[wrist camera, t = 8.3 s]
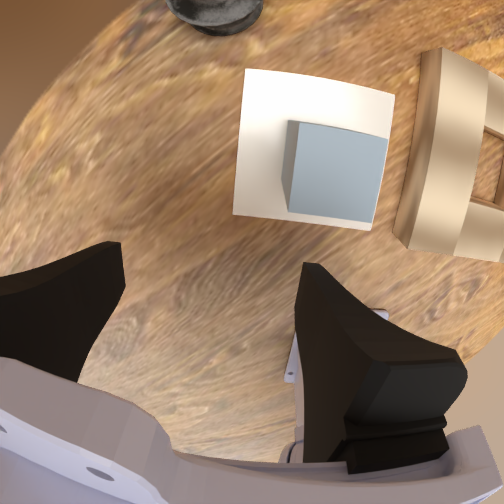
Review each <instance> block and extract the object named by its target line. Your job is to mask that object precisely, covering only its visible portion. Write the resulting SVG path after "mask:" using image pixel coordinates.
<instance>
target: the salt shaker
mask: <svg viewBox="0 0 504 504" xmlns="http://www.w3.org/2000/svg"><path fill="white" fill-rule="evenodd" d="M166 4H167V5H168V7H169V9H170V11H171V12H172V13H173V14H175V15H176V16H177V17H178V18H179V19H181V20H183V21H185V22H187V23H189V24H191V25H192V26H193V27H194V28H195V29H196V30H198V31H200V32H202V33H204V34H208V35H212V36H227V35H232V34H236V33H238V32H241V31H243V30H245V29H247V28H248V27H249V26H251V25H252V24H253V23H254V22H255V21H256V20H257V18H258V17H259V16H260V13H261V11H262V9H263V0H166Z"/></svg>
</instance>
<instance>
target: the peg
mask: <svg viewBox="0 0 504 504" xmlns="http://www.w3.org/2000/svg"><path fill="white" fill-rule="evenodd" d="M387 144H388V139H385V138H382V137H378V136H374V135H370V134H366V133H362V132H357V131H353V130H349V129H344V128H338V127H333V126H327V125H321V124H315V123H309V122H302V121H295V120H288V125H287V133H286V142H285V150H284V159H283V167H282V175H281V181H282V186H283V191H284V196H285V200H286V205H287V210H288V212H291V213H299V214H307V215H315V216H323V217H331V218H338V219H345V220H352V221H360V222H366V223H372V219H373V215H374V211H375V206H376V202H377V197H378V193H379V188H380V183H381V178H382V173H383V167H384V162H385V156H386V150H387Z"/></svg>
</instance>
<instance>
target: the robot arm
mask: <svg viewBox="0 0 504 504" xmlns="http://www.w3.org/2000/svg"><path fill="white" fill-rule="evenodd" d="M125 287H126V285H125V277H124V269H123V260H122V251H121V243H120V242H111V241H106V242H102V243H99V244H96V245H94V246H91V247H88V248H86V249H84V250H81V251H79V252H76V253H74V254H72V255H69V256H67V257H64V258H62V259H59V260H57V261H54V262H52V263H49V264H47V265H44V266H41V267H38V268H35V269H31V270H28V271H25V272H20V273H16V274H12V275H7V276H3V277H0V504H478V503H480V502H481V501H483V500H484V499H486V498H487V497H489V496H490V495H492V494H493V493H495V492H496V491H498V490H499V489H500V488H502V486H503V483H502V479H501V477H500V474H499V471H498V468H497V465H496V463H495V460H494V458H493V455H492V452H491V450H490V448H489V445H488V443H487V440H486V438H485V435H484V433H483V431H482V429H481V426H480V425H477V426H473V427H470V428H466V429H463V430H459V431H455V432H453V433H451V434H449V435H447V436H446V437H445V434H444V431H443V429H442V428H445V426H446V425H447V421H446V419H445V416H444V414H445V412H446V411H447V410H448V409H449V408H450V406H451V405H452V404H453V403H454V401H455V400H456V399H457V398H458V396H459V395H460V393H461V392H462V390H463V388H464V387H465V384H466V381H467V378H468V375H467V370H466V368H465V366H464V364H463V362H462V360H461V359H460V357H459V355H458V353H457V352H456V350H454V349H451V348H448V347H445V346H442V345H439V344H436V343H433V342H430V341H428V340H425V339H423V338H421V337H418V336H416V335H414V334H412V333H410V332H408V331H405V330H403V329H402V328H400V327H398V326H396V325H394V324H393V323H391V322H389V321H387V320H388V318H389V314H388V312H387V311H385V310H371V309H369V308H368V307H367V306H365V305H364V304H363V303H362V302H360V301H359V300H358V299H357V298H356V297H354V296H353V295H352V294H351V293H350V292H349V291H348V290H346V289H345V288H344V287H343V286H342V285H341V284H340V283H339V282H338V281H337V280H336V279H335V278H334V277H333V276H332V275H331V274H330V273H329V272H328V271H327V270H326V269H325V268H324V267H322V266H321V265H320V264H317V263H307V262H303V267H302V272H301V277H300V282H299V287H298V292H297V297H296V302H295V306H294V308H295V334H294V339H293V343H292V347H291V351H290V355H289V359H288V363H287V367H286V371H285V374H284V381H285V382H287V383H294V394H295V410H296V426H297V428H295V442H292V443H289V444H288V445H286V446H285V447H284V449H283V451H282V453H281V455H280V459H279V461H278V463H271V462H253V461H240V460H230V459H221V458H213V457H206V456H199V455H193V454H187V453H181V452H178V451H175V450H173V449H172V446H171V442H170V438H169V436H168V434H167V433H166V432H165V430H164V429H163V428H162V426H161V425H160V424H159V422H158V421H157V420H156V418H155V417H154V416H152V415H151V414H149V413H148V412H146V411H145V410H143V409H142V408H140V407H139V406H137V405H136V404H134V403H133V402H130V401H128V400H125V399H123V398H120V397H118V396H115V395H113V394H111V393H108V392H105V391H102V390H98V389H95V388H91V387H88V386H85V385H82V384H79V383H77V381H78V378H79V376H80V373H81V370H82V368H83V365H84V363H85V360H86V358H87V356H88V353H89V351H90V349H91V347H92V345H93V344H94V342H95V340H96V339H97V337H98V335H99V334H100V332H101V330H102V329H103V327H104V326H105V324H106V322H107V321H108V319H109V318H110V316H111V314H112V313H113V311H114V310H115V308H116V306H117V305H118V302H119V300H120V298H121V296H122V294H123V291H124V289H125Z"/></svg>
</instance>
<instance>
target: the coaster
mask: <svg viewBox="0 0 504 504" xmlns="http://www.w3.org/2000/svg"><path fill="white" fill-rule="evenodd" d="M394 101H395V95H393V94H390V93H386V92H383V91H379V90H375V89H371V88H367V87H363V86H359V85H354V84H350V83H345V82H340V81H335V80H330V79H325V78H319V77H313V76H307V75H300V74H293V73H286V72H277V71H268V70H257V69H246V70H245V79H244V89H243V99H242V109H241V120H240V131H239V142H238V153H237V165H236V176H235V189H234V201H233V214H232V215H242V216H251V217H261V218H270V219H279V220H288V221H297V222H305V223H313V224H321V225H329V226H337V227H345V228H352V229H360V230H367V231H371V227H372V223H373V219H374V215H373V219H372V223H366V222H360V221H352V220H345V219H338V218H331V217H323V216H315V215H307V214H299V213H291V212H288V210H287V205H286V200H285V196H284V191H283V186H282V181H281V175H282V167H283V159H284V150H285V142H286V133H287V125H288V120H295V121H302V122H309V123H315V124H321V125H327V126H333V127H338V128H344V129H349V130H353V131H357V132H362V133H366V134H370V135H374V136H378V137H382V138H385V139H388V143H389V137H390V131H391V124H392V117H393V109H394ZM387 149H388V144H387ZM386 155H387V150H386ZM385 161H386V156H385ZM384 166H385V162H384ZM383 172H384V167H383ZM382 177H383V173H382ZM381 182H382V178H381ZM380 187H381V183H380ZM379 192H380V188H379ZM378 196H379V193H378ZM377 201H378V197H377ZM376 206H377V202H376ZM376 206H375V210H376ZM374 214H375V211H374Z"/></svg>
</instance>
